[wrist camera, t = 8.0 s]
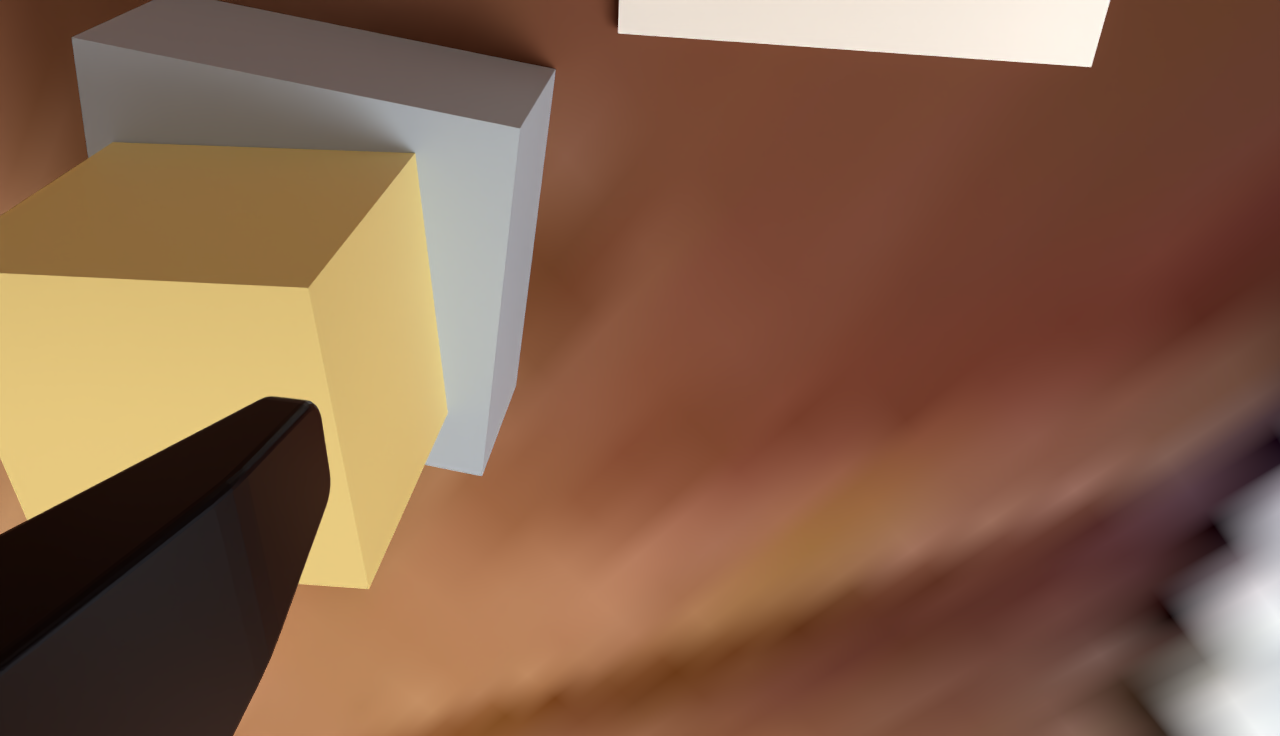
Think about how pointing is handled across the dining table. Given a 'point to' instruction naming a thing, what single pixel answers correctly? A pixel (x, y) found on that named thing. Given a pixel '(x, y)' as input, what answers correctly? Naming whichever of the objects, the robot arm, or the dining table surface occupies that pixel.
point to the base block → (357, 121)
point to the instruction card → (886, 25)
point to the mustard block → (223, 323)
